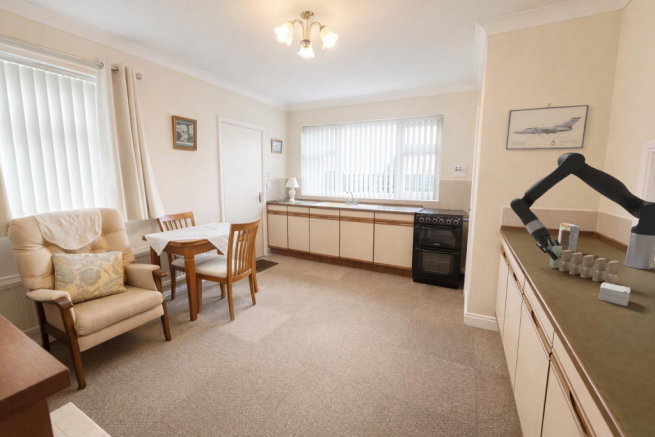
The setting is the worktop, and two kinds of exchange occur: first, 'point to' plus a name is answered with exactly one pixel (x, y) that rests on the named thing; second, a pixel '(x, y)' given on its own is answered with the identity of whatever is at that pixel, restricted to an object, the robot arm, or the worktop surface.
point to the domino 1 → (557, 251)
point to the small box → (614, 293)
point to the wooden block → (565, 240)
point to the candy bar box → (570, 235)
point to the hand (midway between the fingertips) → (559, 258)
